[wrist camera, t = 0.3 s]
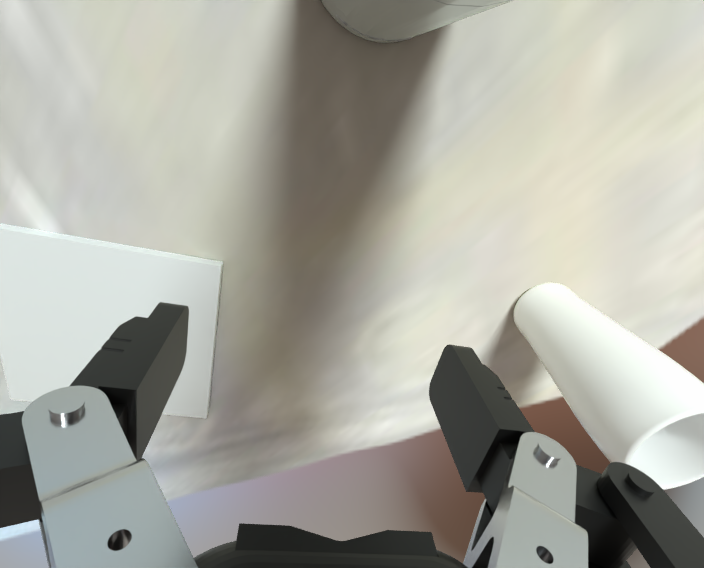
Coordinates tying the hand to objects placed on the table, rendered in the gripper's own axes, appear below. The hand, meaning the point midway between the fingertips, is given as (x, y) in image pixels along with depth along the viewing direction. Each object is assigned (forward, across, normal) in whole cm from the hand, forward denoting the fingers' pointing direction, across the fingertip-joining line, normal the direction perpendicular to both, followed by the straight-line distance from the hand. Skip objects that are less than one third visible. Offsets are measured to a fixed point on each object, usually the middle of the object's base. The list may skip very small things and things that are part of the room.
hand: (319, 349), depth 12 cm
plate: (+18, +14, +14) cm, 27 cm away
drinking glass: (+18, -21, +5) cm, 28 cm away
